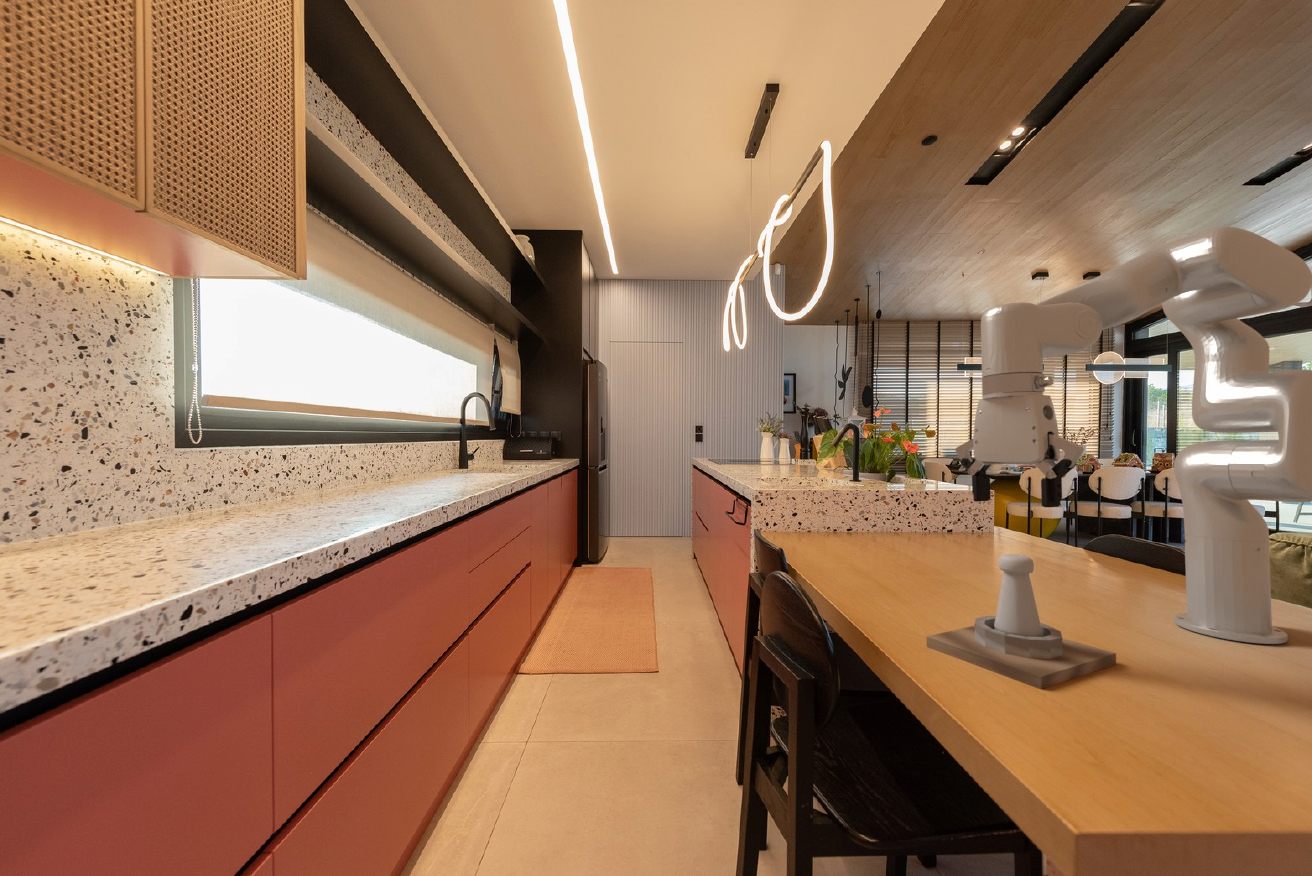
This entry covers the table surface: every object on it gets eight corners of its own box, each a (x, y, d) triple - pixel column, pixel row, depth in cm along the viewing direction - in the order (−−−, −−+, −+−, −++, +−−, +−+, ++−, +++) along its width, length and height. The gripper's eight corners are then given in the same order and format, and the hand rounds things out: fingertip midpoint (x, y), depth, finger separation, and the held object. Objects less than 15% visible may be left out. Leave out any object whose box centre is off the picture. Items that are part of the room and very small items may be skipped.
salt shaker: (1050, 653, 73) (1048, 560, 73) (1005, 650, 74) (1003, 558, 74) (1029, 638, 79) (1027, 552, 79) (987, 636, 80) (986, 551, 80)
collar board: (999, 629, 87) (998, 605, 88) (1116, 664, 73) (1115, 635, 73) (926, 646, 80) (926, 619, 80) (1041, 689, 65) (1040, 656, 65)
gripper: (1094, 382, 71) (1098, 508, 71) (971, 395, 87) (973, 498, 86) (1063, 379, 68) (1066, 511, 68) (941, 393, 84) (943, 500, 83)
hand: (1014, 503), depth 77 cm, fingers open, 9 cm apart
